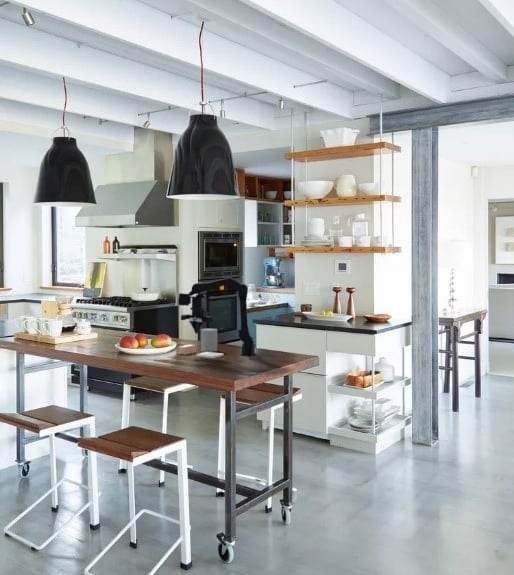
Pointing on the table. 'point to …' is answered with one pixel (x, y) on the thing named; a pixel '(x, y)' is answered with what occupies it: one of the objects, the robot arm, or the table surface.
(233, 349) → the table surface
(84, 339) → the table surface
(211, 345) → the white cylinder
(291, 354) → the table surface
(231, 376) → the table surface
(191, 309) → the robot arm
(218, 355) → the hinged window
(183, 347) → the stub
